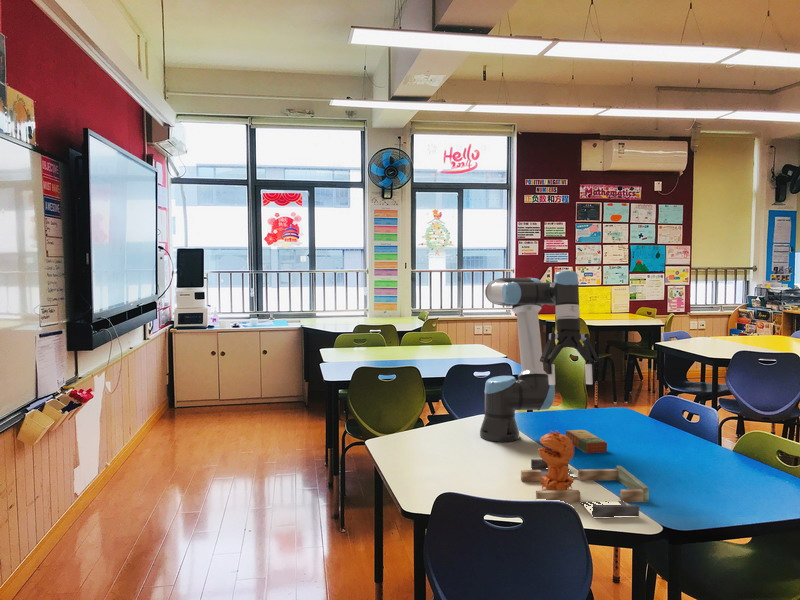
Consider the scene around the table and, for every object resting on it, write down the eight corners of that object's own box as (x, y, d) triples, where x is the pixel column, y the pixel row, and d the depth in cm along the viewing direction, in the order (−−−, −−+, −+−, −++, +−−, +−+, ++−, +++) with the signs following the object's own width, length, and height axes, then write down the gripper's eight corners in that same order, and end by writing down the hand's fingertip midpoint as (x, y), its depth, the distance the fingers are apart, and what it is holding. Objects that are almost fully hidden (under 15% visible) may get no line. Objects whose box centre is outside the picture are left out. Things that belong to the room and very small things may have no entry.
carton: (585, 440, 217) (585, 429, 217) (607, 453, 202) (608, 441, 201) (565, 441, 216) (565, 430, 216) (586, 454, 200) (586, 442, 200)
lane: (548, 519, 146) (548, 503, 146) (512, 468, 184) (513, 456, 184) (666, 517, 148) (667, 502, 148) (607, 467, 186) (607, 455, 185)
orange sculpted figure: (531, 484, 171) (532, 425, 170) (566, 483, 172) (567, 424, 171) (543, 498, 160) (544, 436, 159) (581, 497, 161) (582, 435, 160)
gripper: (539, 316, 176) (542, 385, 173) (608, 318, 183) (611, 384, 180) (527, 319, 183) (530, 384, 180) (594, 320, 190) (597, 383, 187)
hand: (570, 384), depth 180 cm, fingers open, 13 cm apart
